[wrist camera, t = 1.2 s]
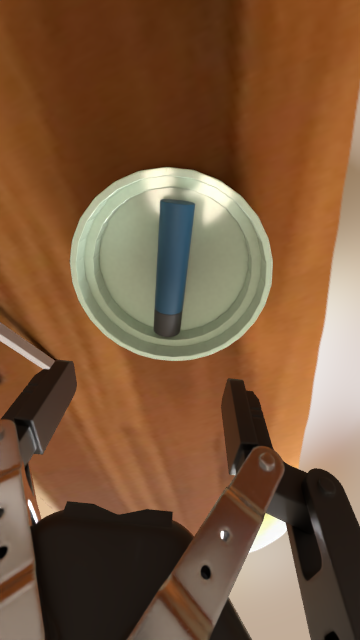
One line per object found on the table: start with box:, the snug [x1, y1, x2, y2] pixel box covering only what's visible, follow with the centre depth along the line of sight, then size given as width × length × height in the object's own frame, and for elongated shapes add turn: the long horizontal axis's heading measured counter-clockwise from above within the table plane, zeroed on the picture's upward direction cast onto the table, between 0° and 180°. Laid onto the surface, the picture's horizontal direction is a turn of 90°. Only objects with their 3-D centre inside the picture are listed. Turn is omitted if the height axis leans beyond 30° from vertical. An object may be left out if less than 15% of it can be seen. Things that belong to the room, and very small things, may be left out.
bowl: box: [70, 167, 273, 361], centre depth 26 cm, size 19×19×4 cm
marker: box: [153, 199, 195, 337], centre depth 26 cm, size 14×3×3 cm, turn 174°
